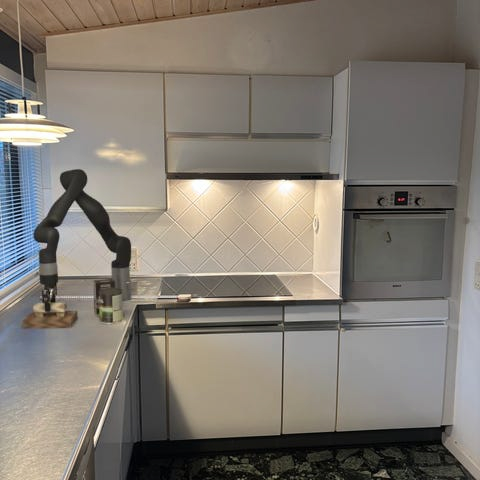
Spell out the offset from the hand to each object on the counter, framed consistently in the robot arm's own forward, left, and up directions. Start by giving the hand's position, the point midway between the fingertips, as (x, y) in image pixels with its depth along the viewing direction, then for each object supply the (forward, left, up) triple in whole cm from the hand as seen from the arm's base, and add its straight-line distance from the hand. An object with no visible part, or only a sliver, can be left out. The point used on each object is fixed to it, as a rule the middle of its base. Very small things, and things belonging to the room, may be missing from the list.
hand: (50, 308), depth 212 cm
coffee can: (-26, -2, -7) cm, 27 cm away
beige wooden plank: (0, 0, -6) cm, 6 cm away
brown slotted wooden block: (0, 0, -7) cm, 7 cm away
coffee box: (-21, -13, -7) cm, 26 cm away
